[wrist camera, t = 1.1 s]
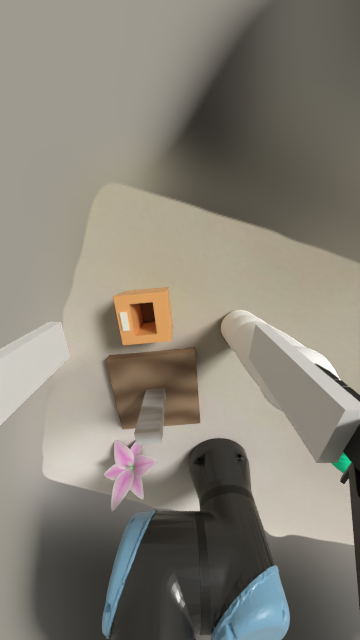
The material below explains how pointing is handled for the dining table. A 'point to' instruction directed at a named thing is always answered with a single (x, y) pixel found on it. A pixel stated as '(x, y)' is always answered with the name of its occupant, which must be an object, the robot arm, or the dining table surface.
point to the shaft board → (156, 377)
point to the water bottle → (239, 338)
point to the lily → (128, 471)
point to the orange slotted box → (133, 320)
